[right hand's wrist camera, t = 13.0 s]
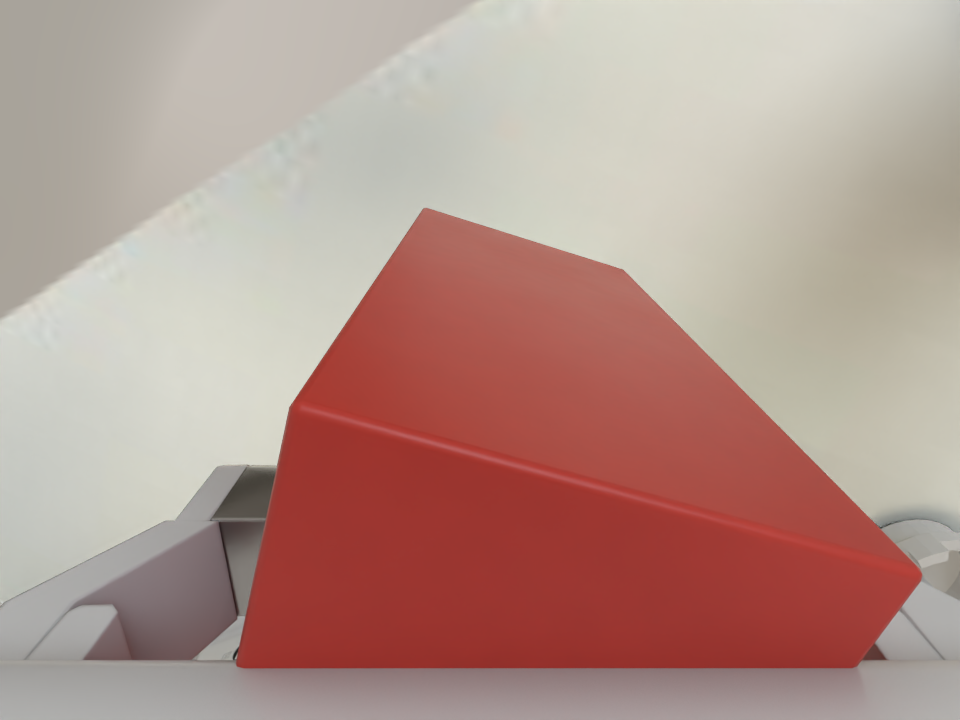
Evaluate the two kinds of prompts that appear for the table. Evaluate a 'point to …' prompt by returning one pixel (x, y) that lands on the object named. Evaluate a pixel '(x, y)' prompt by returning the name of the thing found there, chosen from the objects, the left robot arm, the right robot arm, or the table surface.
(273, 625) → the block
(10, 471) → the table surface
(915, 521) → the flag stand
